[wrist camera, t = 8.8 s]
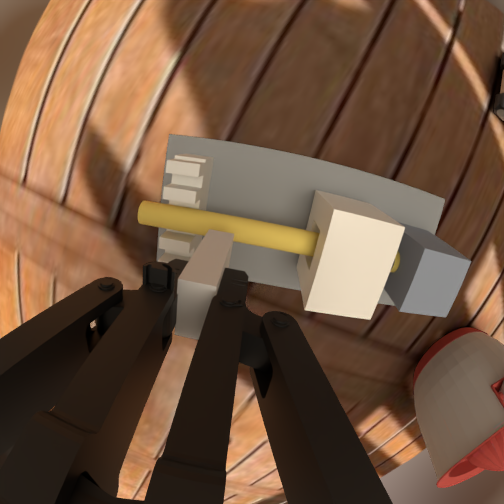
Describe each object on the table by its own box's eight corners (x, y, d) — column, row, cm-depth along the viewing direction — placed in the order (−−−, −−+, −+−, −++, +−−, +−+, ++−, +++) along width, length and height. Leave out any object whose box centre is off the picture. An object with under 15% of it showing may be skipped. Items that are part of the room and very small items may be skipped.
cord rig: (158, 260, 27) (122, 302, 19) (171, 134, 22) (129, 132, 15) (404, 304, 27) (435, 351, 20) (442, 198, 23) (492, 221, 15)
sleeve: (296, 266, 25) (304, 310, 19) (315, 189, 23) (334, 209, 16) (348, 276, 25) (370, 319, 19) (370, 203, 23) (405, 227, 16)
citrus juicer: (504, 292, 26) (589, 383, 7) (468, 382, 32) (514, 471, 14) (416, 310, 27) (502, 454, 9) (388, 406, 34) (421, 519, 15)
